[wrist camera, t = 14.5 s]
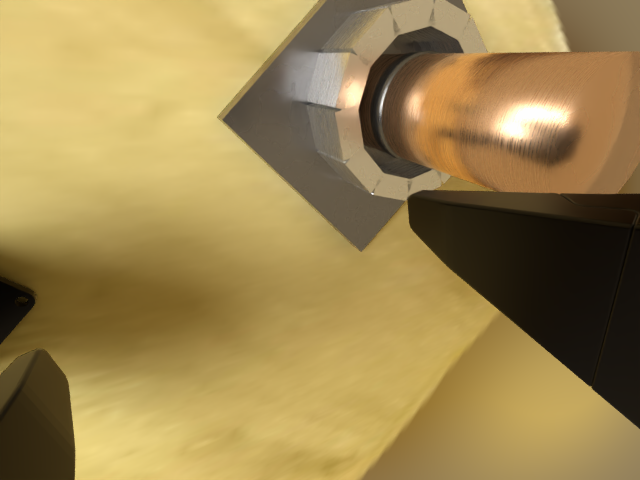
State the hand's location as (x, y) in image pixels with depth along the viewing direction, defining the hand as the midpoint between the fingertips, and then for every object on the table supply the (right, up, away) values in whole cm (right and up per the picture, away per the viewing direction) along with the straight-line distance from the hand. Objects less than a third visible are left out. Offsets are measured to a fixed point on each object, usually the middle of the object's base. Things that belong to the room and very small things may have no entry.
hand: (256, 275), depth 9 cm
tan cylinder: (+5, +9, +13) cm, 16 cm away
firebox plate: (+5, +9, +13) cm, 17 cm away
